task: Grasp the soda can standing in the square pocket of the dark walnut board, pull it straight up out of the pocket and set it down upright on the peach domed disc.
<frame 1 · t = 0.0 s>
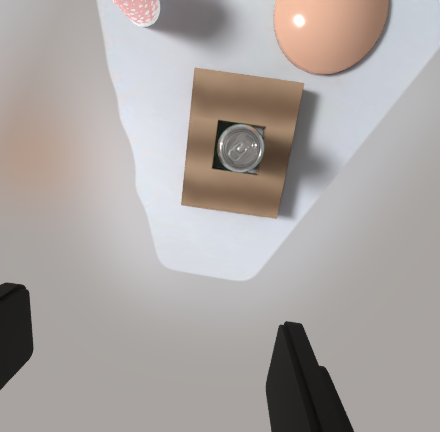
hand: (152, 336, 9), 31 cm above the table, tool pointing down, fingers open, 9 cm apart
peach domed disc: (328, 14, 33), on the table
beverage cup: (143, 7, 34), on the table
pocket board: (237, 148, 38), on the table
soda can: (237, 148, 38), resting in pocket board
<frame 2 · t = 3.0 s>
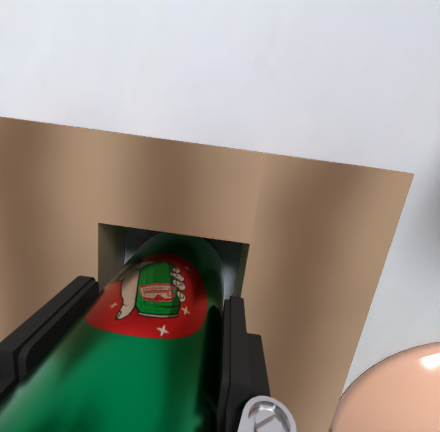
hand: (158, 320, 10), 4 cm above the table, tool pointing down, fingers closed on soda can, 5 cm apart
peach domed disc: (437, 429, 17), on the table
pocket board: (180, 269, 15), on the table
soda can: (181, 267, 15), resting in pocket board, touching gripper
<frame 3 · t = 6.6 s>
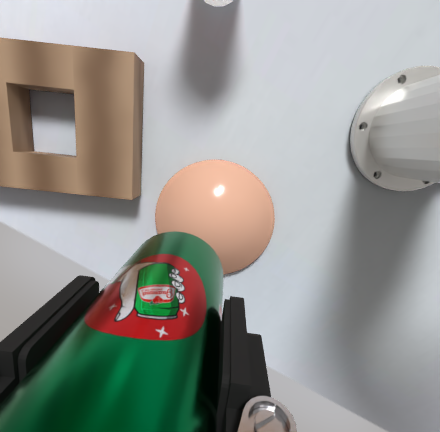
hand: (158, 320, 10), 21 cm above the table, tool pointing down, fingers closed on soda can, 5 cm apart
peach domed disc: (214, 219, 31), on the table
pocket board: (61, 124, 28), on the table
soda can: (180, 268, 15), point 16 cm above the table, touching gripper
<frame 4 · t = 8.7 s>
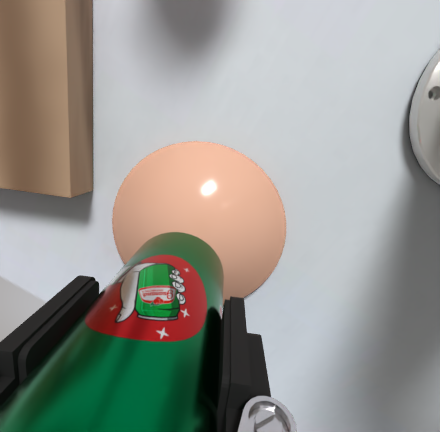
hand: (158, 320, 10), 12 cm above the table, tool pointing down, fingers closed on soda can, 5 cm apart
peach domed disc: (199, 228, 21), on the table
soda can: (180, 268, 15), point 7 cm above the table, touching gripper
when the fingers open (6 cm above the table, at t = 10.5 s): soda can drops 1 cm, resting on peach domed disc.
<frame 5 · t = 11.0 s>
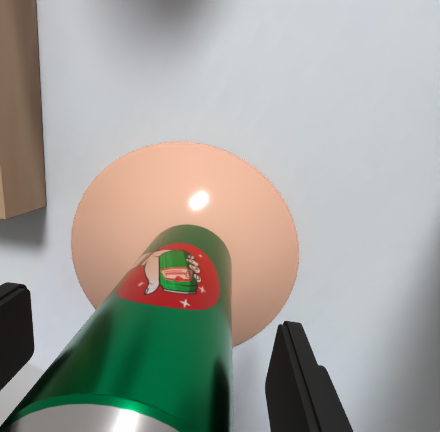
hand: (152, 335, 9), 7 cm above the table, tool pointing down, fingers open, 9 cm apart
peach domed disc: (185, 255, 17), on the table
soda can: (190, 259, 16), point 1 cm above the table, touching peach domed disc
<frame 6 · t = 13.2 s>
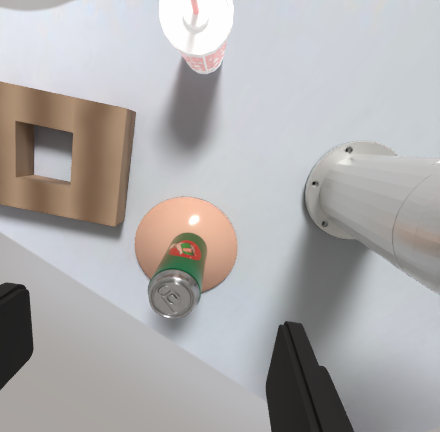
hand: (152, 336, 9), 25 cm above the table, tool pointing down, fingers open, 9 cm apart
peach domed disc: (186, 246, 36), on the table
beverage cup: (204, 52, 30), on the table
pocket board: (59, 154, 33), on the table
soda can: (189, 248, 35), point 1 cm above the table, touching peach domed disc
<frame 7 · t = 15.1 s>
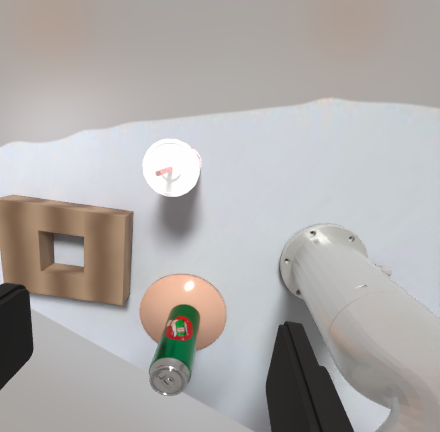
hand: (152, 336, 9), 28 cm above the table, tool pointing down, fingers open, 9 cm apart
peach domed disc: (183, 312, 42), on the table
beverage cup: (185, 163, 36), on the table
pocket board: (74, 246, 40), on the table
soda can: (185, 314, 41), point 1 cm above the table, touching peach domed disc
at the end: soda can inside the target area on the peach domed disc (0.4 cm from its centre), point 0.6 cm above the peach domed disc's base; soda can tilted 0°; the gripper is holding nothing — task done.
